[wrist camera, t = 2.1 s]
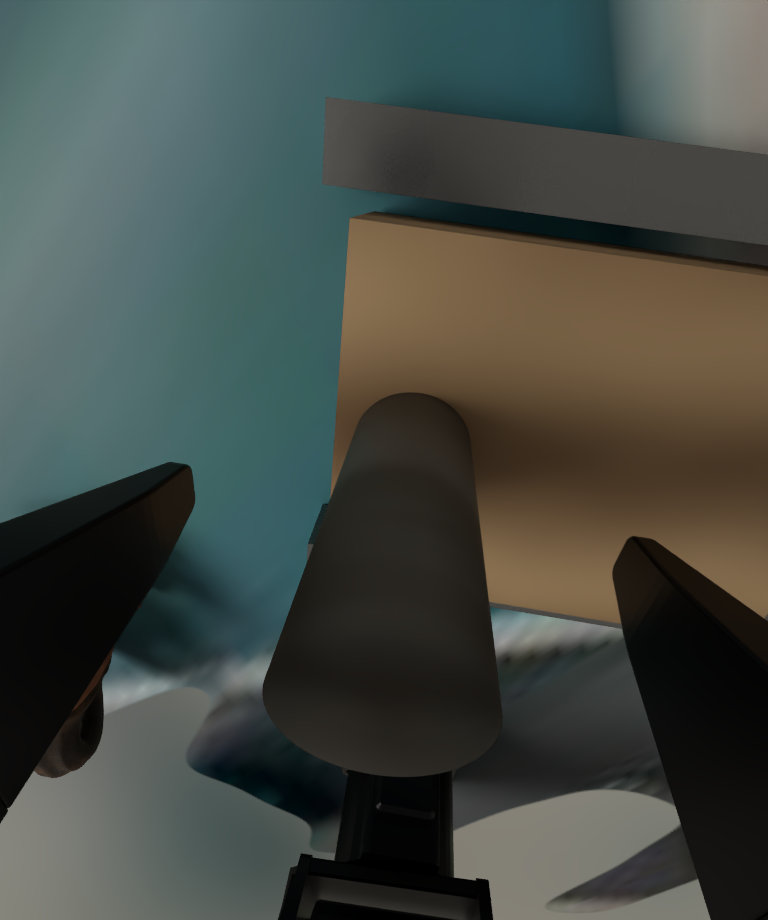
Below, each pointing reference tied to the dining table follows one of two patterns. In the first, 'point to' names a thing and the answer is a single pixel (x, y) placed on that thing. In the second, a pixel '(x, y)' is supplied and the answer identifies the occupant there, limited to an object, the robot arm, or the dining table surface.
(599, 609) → the tan drawer with knob
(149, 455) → the dining table surface
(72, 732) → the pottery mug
